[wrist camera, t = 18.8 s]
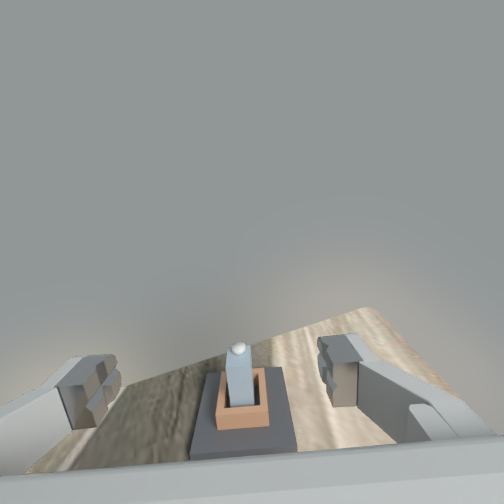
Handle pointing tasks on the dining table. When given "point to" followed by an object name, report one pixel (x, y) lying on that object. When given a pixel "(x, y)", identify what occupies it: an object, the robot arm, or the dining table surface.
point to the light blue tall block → (240, 375)
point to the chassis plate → (244, 419)
